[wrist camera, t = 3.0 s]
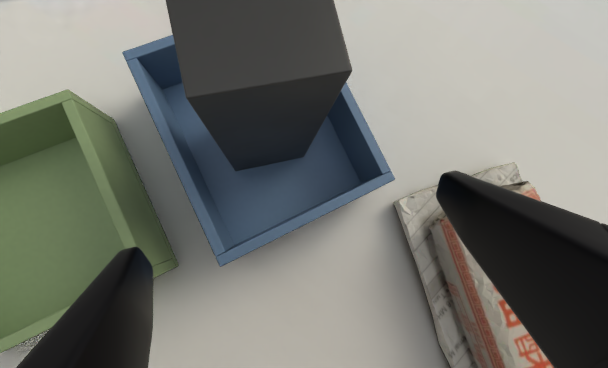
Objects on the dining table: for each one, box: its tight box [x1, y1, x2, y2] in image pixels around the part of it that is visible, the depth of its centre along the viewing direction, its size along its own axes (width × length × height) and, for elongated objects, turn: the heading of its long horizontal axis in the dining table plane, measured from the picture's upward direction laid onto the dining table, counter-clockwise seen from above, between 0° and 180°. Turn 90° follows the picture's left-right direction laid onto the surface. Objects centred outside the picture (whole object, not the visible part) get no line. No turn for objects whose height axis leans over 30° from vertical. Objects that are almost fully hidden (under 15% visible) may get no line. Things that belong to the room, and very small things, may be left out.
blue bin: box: [123, 35, 395, 267], centre depth 19 cm, size 13×11×5 cm
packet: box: [166, 0, 352, 171], centre depth 14 cm, size 4×5×12 cm
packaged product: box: [394, 163, 554, 368], centre depth 19 cm, size 18×5×10 cm
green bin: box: [0, 90, 178, 353], centre depth 16 cm, size 11×11×5 cm
